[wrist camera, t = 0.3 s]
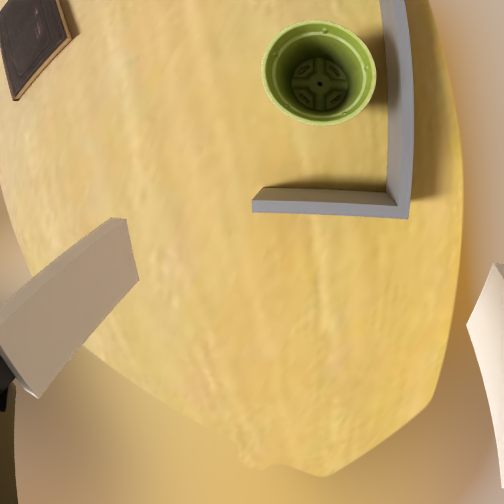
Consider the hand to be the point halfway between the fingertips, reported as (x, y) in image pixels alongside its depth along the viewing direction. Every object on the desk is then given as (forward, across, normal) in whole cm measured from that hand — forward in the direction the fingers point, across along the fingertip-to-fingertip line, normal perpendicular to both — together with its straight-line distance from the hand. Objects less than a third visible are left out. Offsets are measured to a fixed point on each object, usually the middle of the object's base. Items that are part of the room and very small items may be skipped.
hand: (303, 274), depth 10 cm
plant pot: (+26, -1, +6) cm, 27 cm away
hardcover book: (+27, -47, +24) cm, 59 cm away
